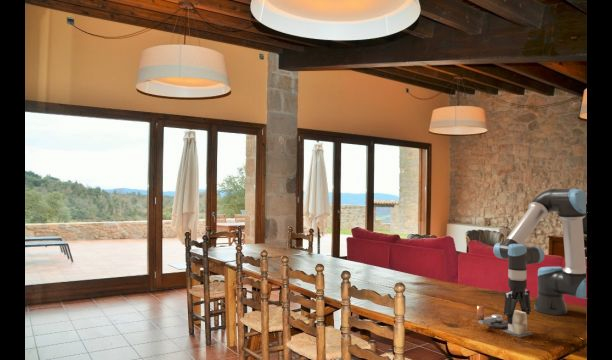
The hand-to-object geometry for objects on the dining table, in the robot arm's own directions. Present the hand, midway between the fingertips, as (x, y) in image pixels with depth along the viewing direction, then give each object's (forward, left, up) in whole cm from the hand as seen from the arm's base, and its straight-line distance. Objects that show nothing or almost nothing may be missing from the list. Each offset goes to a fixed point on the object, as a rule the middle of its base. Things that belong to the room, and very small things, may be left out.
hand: (517, 329), depth 199 cm
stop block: (0, 0, -1) cm, 1 cm away
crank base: (0, -11, -1) cm, 11 cm away
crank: (+5, -11, +1) cm, 12 cm away
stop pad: (0, 0, -1) cm, 1 cm away
